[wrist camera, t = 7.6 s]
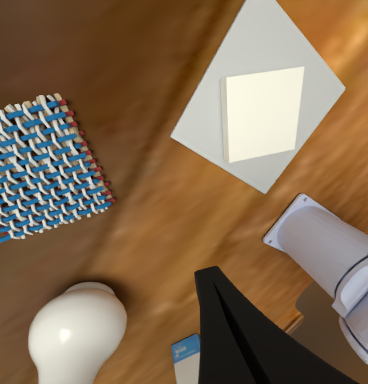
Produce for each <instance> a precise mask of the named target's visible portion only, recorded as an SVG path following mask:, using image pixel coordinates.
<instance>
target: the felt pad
mask: <svg viewBox="0 0 368 384" xmlns="http://www.w3.org/2000/svg"><path fill="white" fill-rule="evenodd" d="M303 66H305V67H304V75H303V84H302V92H301V100H300V108H299V117H298V125H297V133H296V142H295V149H293V150H288V151H284V152H279V153H274V154H269V155H264V156H260V157H255V158H250V159H245V160H241V161H236V162H231V163H229V162H227V161H225V160H224V148H223V127H222V106H221V84H220V79H223V78H226V77H233V76H240V75H247V74H254V73H261V72H268V71H275V70H282V69H289V68H296V67H303ZM345 89H346V88H345V87H344V85H343V84H342V83H341V82H340V80H339V79H338V78H337V77H336V75H335V74H334V73H333V72H332V70H331V69H330V68H329V67H328V65H327V64H326V63H325V62H324V60H323V59H322V58H321V57H320V55H319V54H318V53H317V52H316V50H315V49H314V48H313V47H312V45H311V44H310V43H309V42H308V40H307V39H306V38H305V37H304V35H303V34H302V33H301V32H300V30H299V29H298V28H297V27H296V25H295V24H294V23H293V22H292V20H291V19H290V18H289V17H288V15H287V14H286V13H285V12H284V10H283V9H282V8H281V7H280V5H279V4H278V3H277V2H276V0H245V1H244V3H243V5H242V7H241V9H240V10H239V12H238V14H237V16H236V18H235V19H234V21H233V23H232V25H231V27H230V28H229V30H228V32H227V34H226V36H225V37H224V39H223V41H222V43H221V45H220V46H219V48H218V50H217V52H216V54H215V55H214V57H213V59H212V61H211V63H210V64H209V66H208V68H207V70H206V72H205V73H204V75H203V77H202V79H201V81H200V82H199V84H198V86H197V88H196V90H195V91H194V93H193V95H192V97H191V99H190V100H189V102H188V104H187V106H186V108H185V109H184V111H183V113H182V115H181V117H180V118H179V120H178V122H177V124H176V126H175V127H174V129H173V131H172V133H171V135H170V137H171V138H173V139H175V140H176V141H178V142H180V143H181V144H183V145H185V146H186V147H188V148H190V149H191V150H193V151H194V152H196V153H198V154H199V155H201V156H203V157H204V158H206V159H208V160H209V161H211V162H213V163H214V164H216V165H218V166H219V167H221V168H223V169H224V170H226V171H227V172H229V173H231V174H232V175H234V176H236V177H237V178H239V179H241V180H242V181H244V182H246V183H247V184H249V185H251V186H252V187H254V188H256V189H257V190H259V191H260V192H262V193H264V194H266V193H267V191H268V190H269V189H270V187H271V186H272V185H273V184H274V182H275V181H276V180H277V178H278V177H279V176H280V174H281V173H282V172H283V170H284V169H285V168H286V166H287V165H288V164H289V162H290V161H291V160H292V159H293V157H294V156H295V155H296V153H297V152H298V151H299V149H300V148H301V147H302V145H303V144H304V143H305V141H306V140H307V139H308V138H309V136H310V135H311V134H312V132H313V131H314V130H315V128H316V127H317V126H318V124H319V123H320V122H321V120H322V119H323V118H324V116H325V115H326V114H327V113H328V111H329V110H330V109H331V107H332V106H333V105H334V103H335V102H336V101H337V99H338V98H339V97H340V95H341V94H342V93H343V92H344V90H345Z"/></svg>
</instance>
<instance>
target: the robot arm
mask: <svg viewBox="0 0 368 384" xmlns="http://www.w3.org/2000/svg"><path fill="white" fill-rule="evenodd" d="M263 242H264V243H266V244H268V245H270V246H272V247H274V248H277V249H279V250H281V251H283V252H285V253H287V254H288V255H289V256H290V257H291V258H292V259H293V260H294V261H295V262H296V263H297V264H299V265H300V266H301V267H302V268H303V269H304V270H305V271H306V272H307V273H308V274H309V275H310V276H311V277H312V278H313V279H314V280H315V281H316V282H317V283H318V284H319V285H320V286H321V287H322V288H323V289H324V290H325V291H326V292H327V293H328V294H329V295H330V296H331V297H332V298H333V299H334V300H335V301H334V303H333V304H332V307H333V308H334V309H335V310H336V311H337V312H338V313H339V314H340V317H339V324H340V327H341V329H342V331H343V333H344V335H345V337H346V339H347V341H348V342H349V344H350V345H351V347H352V348H353V349H354V351H356V353H357V354H358V355H359V356H360V357H361V358H362V360H363V361H364V362H365V363H366V364H367V365H368V235H367V234H365V233H363V232H362V231H360V230H358V229H356V228H354V227H353V226H351V225H349V224H347V223H345V222H344V221H342V220H341V219H340V218H338V217H337V216H336V215H334V214H333V213H331V212H330V211H328V210H327V209H325V208H324V207H323V206H321V205H320V204H318V203H317V202H315V201H314V200H312V199H311V198H310V197H308V196H307V195H305V194H303V193H301V194H299V195H298V196H297V197H296V199H295V200H294V201H293V202H292V204H291V205H290V206H289V207H288V208H287V210H286V211H285V212H284V213H283V215H282V216H281V217H280V218H279V220H278V221H277V222H276V223H275V224H274V226H273V227H272V228H271V229H270V231H269V232H268V233H267V234H266V235H265V237H264V238H263ZM194 275H195V283H196V290H197V296H198V300H199V304H200V360H199V376H198V384H359V383H358V382H356V381H354V380H353V379H351V378H350V377H348V376H346V375H345V374H343V373H342V372H340V371H339V370H337V369H336V368H334V367H332V366H331V365H330V364H328V363H326V362H325V361H324V360H322V359H321V358H319V357H318V356H316V355H315V354H314V353H312V352H311V351H309V350H308V349H307V348H305V347H304V346H302V345H301V344H300V343H298V342H297V341H296V340H294V339H293V338H292V337H290V336H289V335H288V334H287V333H285V332H284V331H283V330H282V329H280V328H279V327H278V326H277V325H275V324H274V323H273V322H272V321H271V320H270V319H268V318H267V317H266V316H265V315H264V314H263V313H262V312H260V311H259V310H258V309H257V308H256V307H255V306H254V305H253V304H252V303H251V302H250V301H249V300H248V299H247V298H246V297H245V296H244V295H243V294H242V293H241V292H240V291H239V290H238V289H237V288H236V287H235V286H234V285H233V284H232V283H231V281H230V280H229V279H228V278H227V277H226V276H225V275H224V273H223V272H222V271H221V270H220V268H219V267H218V266H213V267H209V268H205V269H202V270H198V271H196V272H195V273H194Z"/></svg>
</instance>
